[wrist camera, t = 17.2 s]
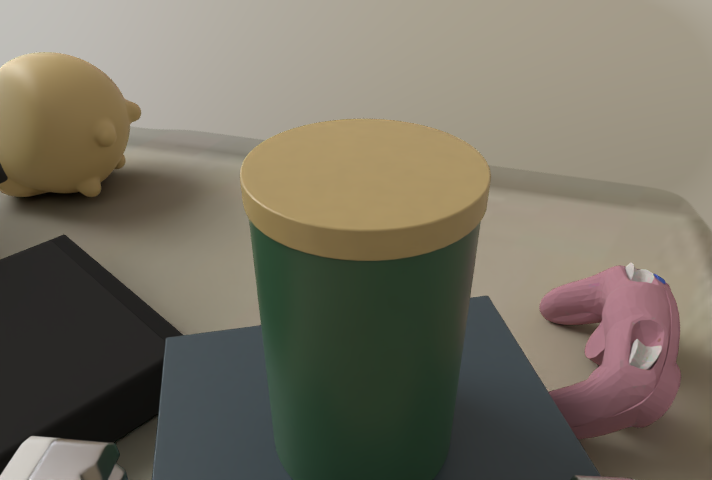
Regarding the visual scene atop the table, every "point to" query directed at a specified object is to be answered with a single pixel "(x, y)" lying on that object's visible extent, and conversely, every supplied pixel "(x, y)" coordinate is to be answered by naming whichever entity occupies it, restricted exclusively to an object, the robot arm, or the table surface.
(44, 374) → the external hard drive
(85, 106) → the toy pig
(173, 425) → the storage box
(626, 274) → the video game controller
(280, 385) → the tea tin
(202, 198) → the table surface
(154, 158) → the table surface
